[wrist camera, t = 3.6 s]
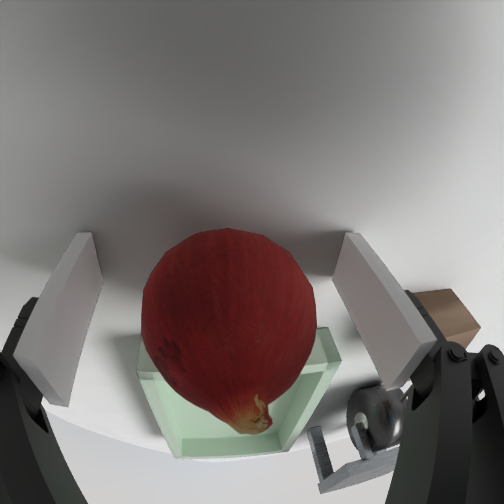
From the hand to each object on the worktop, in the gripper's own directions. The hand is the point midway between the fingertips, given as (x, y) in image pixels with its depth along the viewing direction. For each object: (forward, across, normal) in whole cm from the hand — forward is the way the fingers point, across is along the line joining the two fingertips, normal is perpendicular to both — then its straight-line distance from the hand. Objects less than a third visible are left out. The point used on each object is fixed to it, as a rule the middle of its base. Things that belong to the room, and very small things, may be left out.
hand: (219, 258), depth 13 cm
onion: (0, 0, 0) cm, 0 cm away
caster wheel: (0, +13, -18) cm, 22 cm away
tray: (0, +1, -13) cm, 13 cm away
